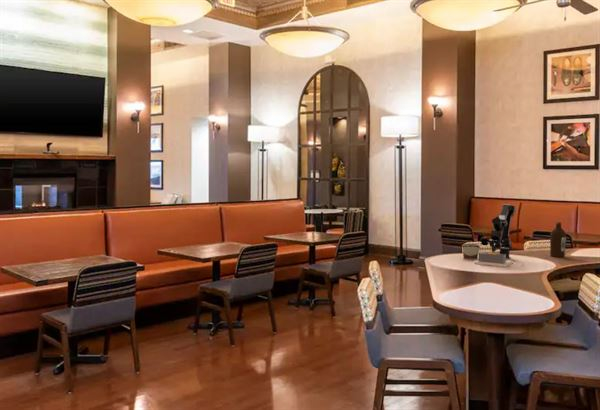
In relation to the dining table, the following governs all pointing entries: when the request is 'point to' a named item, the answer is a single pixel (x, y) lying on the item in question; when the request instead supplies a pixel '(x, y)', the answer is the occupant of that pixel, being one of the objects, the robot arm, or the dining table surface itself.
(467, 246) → the food container
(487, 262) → the grey block on base
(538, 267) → the dining table surface
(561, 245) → the olive oil
